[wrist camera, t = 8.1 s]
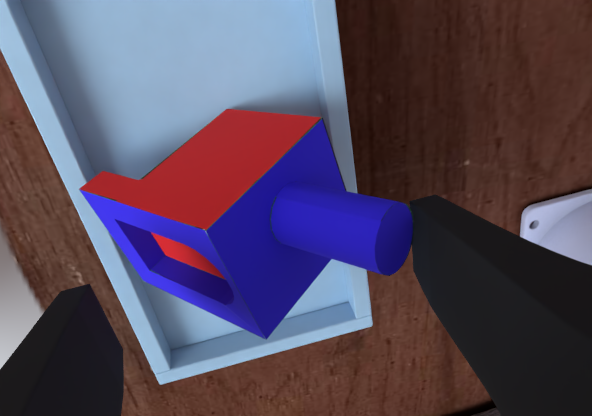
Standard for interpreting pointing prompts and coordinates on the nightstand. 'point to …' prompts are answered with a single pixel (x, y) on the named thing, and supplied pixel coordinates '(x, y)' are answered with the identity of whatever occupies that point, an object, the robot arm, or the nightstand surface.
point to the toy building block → (248, 218)
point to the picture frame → (489, 413)
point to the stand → (182, 134)
